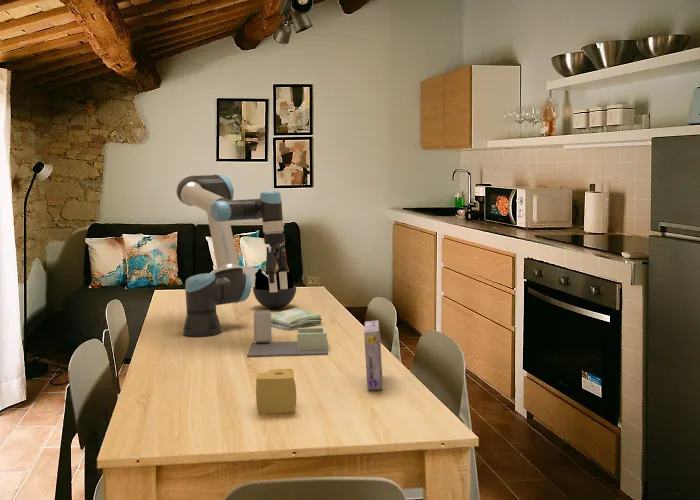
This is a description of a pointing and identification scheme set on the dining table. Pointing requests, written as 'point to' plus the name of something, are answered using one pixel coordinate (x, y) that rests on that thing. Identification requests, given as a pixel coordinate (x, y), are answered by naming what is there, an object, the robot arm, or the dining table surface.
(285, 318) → the towel
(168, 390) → the dining table surface
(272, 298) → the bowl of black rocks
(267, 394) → the cheese
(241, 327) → the dining table surface
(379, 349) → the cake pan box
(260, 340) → the beverage can
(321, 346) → the mount
